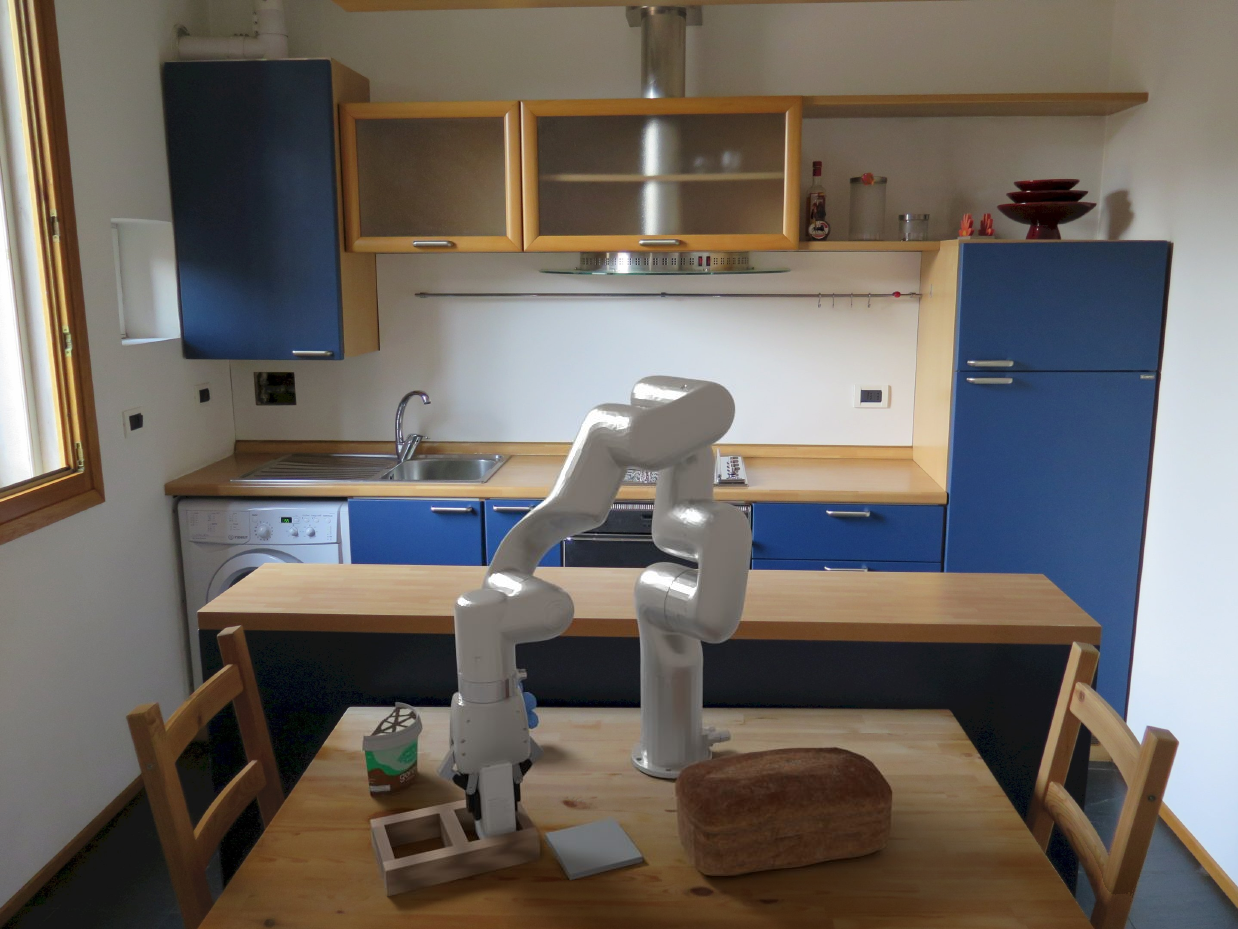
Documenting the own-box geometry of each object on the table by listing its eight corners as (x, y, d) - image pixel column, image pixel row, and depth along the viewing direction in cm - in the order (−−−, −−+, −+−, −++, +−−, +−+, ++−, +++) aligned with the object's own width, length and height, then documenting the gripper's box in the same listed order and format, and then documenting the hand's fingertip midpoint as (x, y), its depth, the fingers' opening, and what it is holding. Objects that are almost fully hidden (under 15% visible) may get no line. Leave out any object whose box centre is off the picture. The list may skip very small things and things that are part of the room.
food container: (405, 805, 144) (401, 741, 142) (365, 801, 145) (361, 737, 143) (437, 763, 156) (434, 703, 154) (400, 760, 157) (396, 700, 155)
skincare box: (518, 847, 133) (515, 763, 131) (486, 856, 131) (482, 771, 129) (503, 824, 138) (500, 743, 136) (472, 832, 137) (468, 751, 134)
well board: (513, 812, 142) (512, 789, 141) (540, 859, 131) (539, 835, 130) (371, 843, 135) (369, 820, 134) (387, 896, 123) (385, 871, 123)
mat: (613, 822, 139) (613, 817, 139) (642, 861, 130) (642, 856, 130) (545, 838, 135) (545, 833, 135) (570, 880, 126) (570, 874, 126)
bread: (665, 832, 137) (665, 749, 134) (855, 805, 143) (858, 726, 141) (695, 893, 124) (695, 803, 121) (903, 861, 130) (907, 774, 127)
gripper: (540, 662, 137) (545, 784, 140) (417, 685, 130) (425, 811, 134) (558, 684, 130) (562, 811, 134) (429, 708, 124) (437, 841, 127)
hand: (493, 810), depth 134 cm, fingers closed on skincare box, 4 cm apart
